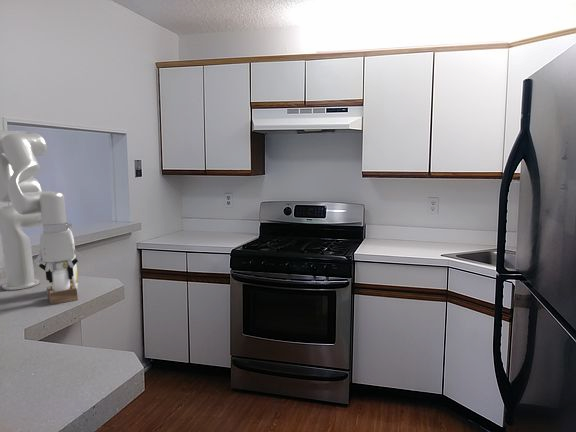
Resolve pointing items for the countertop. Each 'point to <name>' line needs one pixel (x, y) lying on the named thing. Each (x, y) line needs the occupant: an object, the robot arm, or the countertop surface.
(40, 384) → the countertop surface
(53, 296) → the bottle holder
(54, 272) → the eye dropper bottle
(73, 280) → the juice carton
